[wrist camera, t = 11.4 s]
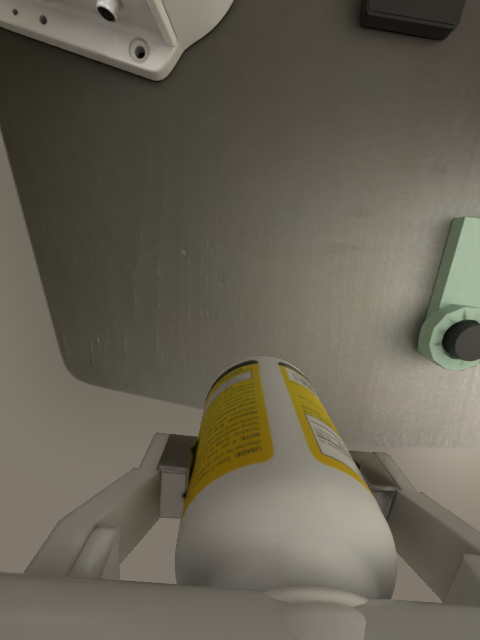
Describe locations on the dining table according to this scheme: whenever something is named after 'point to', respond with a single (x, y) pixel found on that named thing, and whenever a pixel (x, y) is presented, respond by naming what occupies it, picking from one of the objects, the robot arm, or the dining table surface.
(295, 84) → the dining table surface
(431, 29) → the phone
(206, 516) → the supplement bottle
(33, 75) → the dining table surface
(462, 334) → the tare button
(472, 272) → the scale
